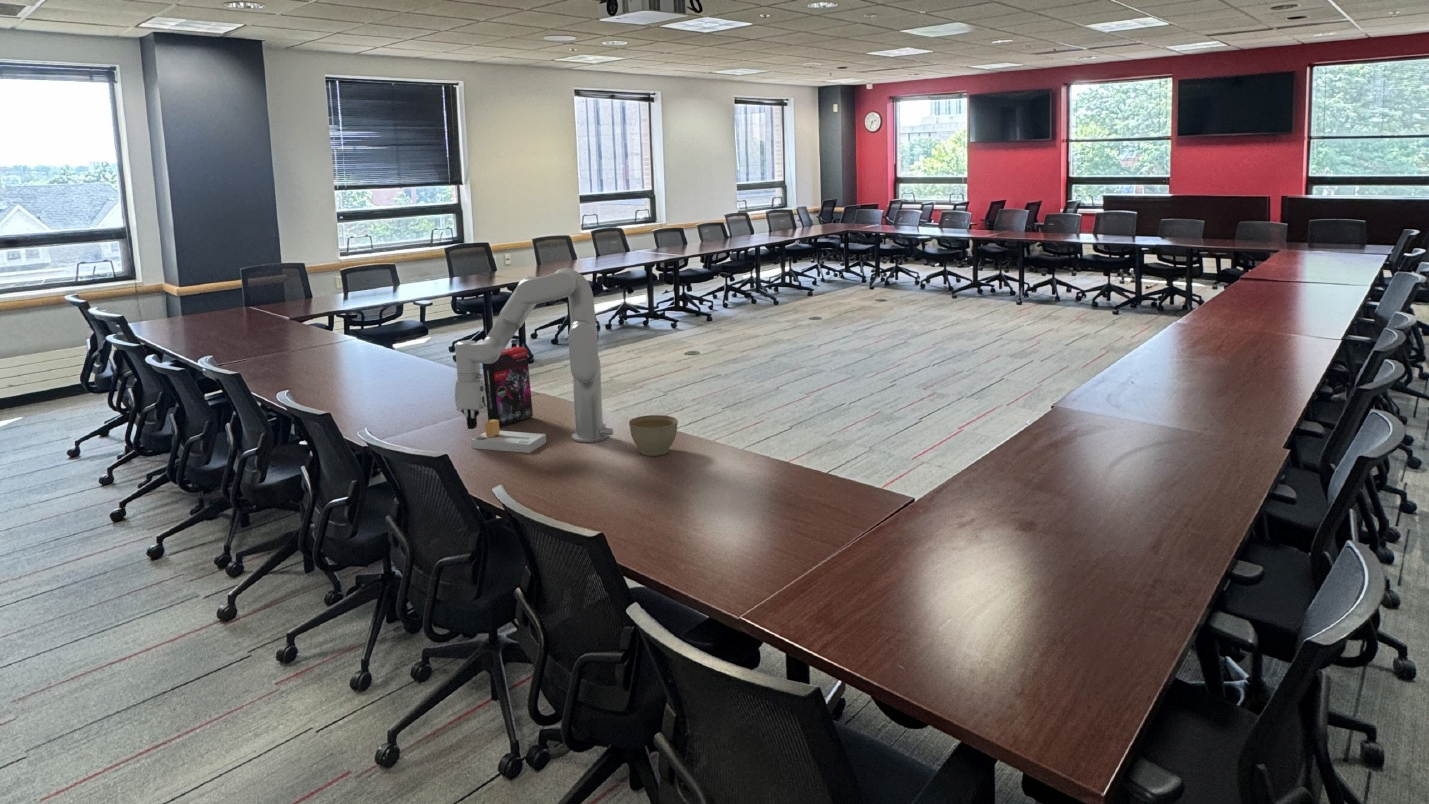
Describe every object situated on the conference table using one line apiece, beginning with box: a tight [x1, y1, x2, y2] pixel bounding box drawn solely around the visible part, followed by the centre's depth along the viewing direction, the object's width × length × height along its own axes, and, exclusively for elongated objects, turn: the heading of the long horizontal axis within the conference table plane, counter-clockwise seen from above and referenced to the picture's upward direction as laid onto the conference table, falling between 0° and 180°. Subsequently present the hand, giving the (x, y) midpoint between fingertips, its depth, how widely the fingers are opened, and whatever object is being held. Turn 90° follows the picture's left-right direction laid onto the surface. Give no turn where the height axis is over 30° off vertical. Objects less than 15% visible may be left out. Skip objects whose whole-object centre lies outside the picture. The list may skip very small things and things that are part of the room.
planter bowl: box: [628, 414, 679, 457], centre depth 305 cm, size 16×16×11 cm
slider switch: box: [471, 430, 547, 454], centre depth 316 cm, size 22×12×3 cm, turn 73°
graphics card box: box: [481, 345, 534, 428], centre depth 342 cm, size 17×7×27 cm, turn 143°
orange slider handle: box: [484, 419, 501, 437], centre depth 317 cm, size 3×5×7 cm, turn 163°
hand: (472, 428), depth 319 cm, fingers closed
